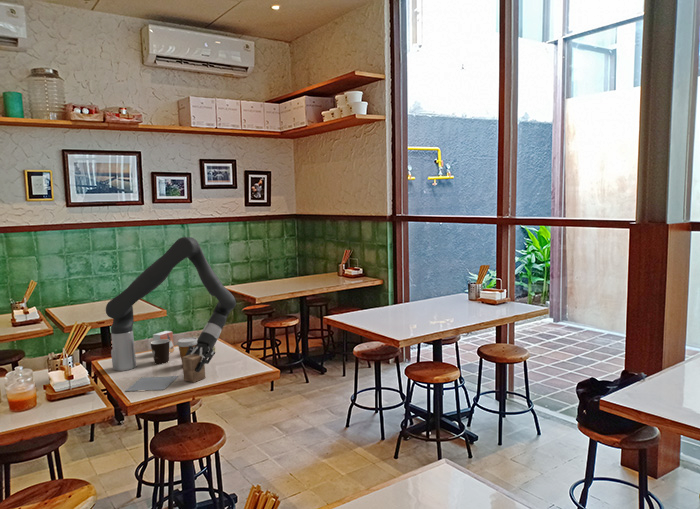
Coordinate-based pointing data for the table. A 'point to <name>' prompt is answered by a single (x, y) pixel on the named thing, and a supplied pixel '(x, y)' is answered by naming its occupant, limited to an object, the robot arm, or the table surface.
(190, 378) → the walnut block
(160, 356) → the coffee mug
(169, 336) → the small box
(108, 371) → the table surface
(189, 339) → the disposable coffee cup
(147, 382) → the grey mat
